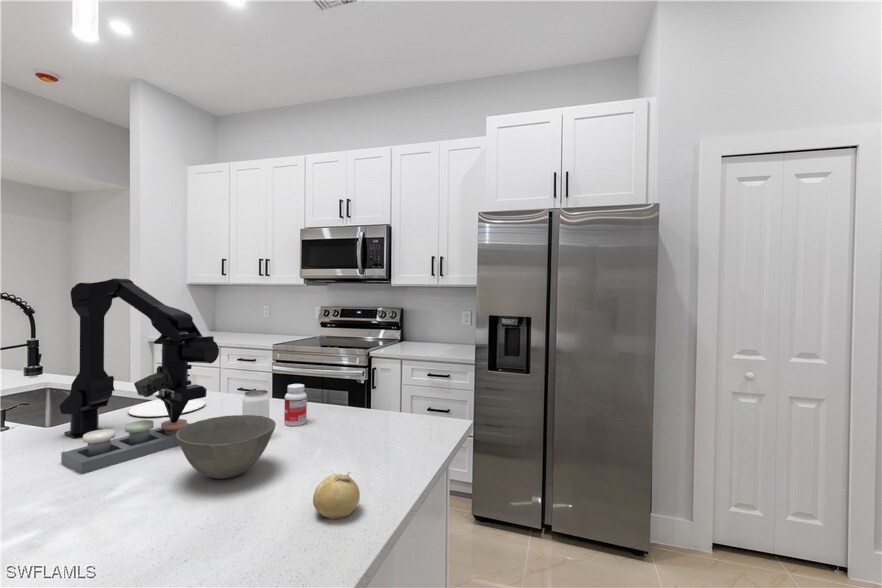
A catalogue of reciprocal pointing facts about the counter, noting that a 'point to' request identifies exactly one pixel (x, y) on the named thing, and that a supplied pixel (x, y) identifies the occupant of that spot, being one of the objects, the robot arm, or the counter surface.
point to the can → (256, 403)
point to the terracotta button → (173, 426)
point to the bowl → (225, 443)
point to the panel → (117, 452)
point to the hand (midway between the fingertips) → (173, 422)
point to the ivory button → (99, 441)
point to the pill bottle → (295, 405)
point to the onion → (336, 496)
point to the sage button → (139, 431)
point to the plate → (162, 408)
